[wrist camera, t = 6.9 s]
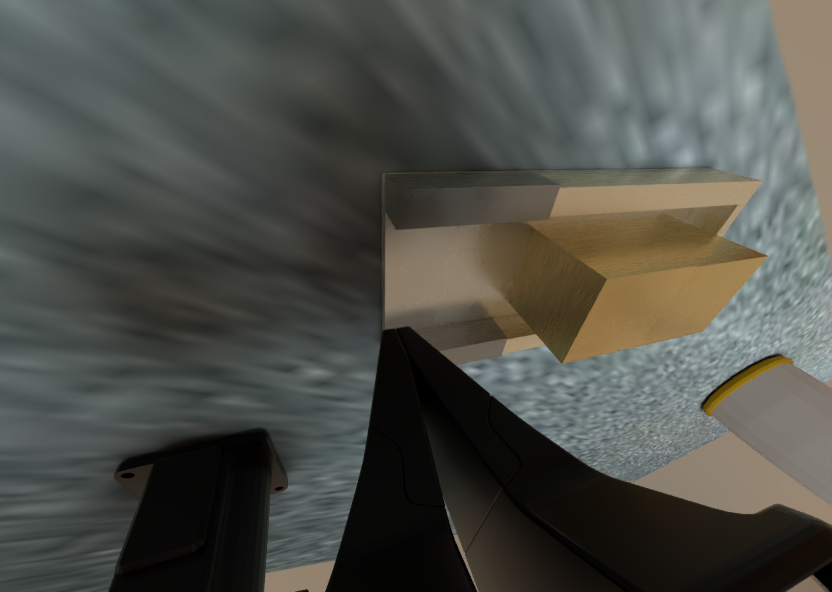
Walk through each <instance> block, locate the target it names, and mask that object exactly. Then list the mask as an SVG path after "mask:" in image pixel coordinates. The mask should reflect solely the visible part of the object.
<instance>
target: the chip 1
mask: <svg viewBox="0 0 832 592" xmlns="http://www.w3.org/2000/svg"><path fill="white" fill-rule="evenodd" d="M695 267H696V265H694V264H692V263H690V262H688V261H686V260H684V259H682V258H680V257H678V256H676V255H674V254H672V253H670V252H668V251H666V250H665V249H663V248H661V247H659V246H657V245H655V244H653V243H651V242H649V241H647V240H645V239H643V238H641V237H639V236H637V235H635V234H633V233H631V232H629V231H627V230H625V229H623V228H621V227H619V226H617V225H615V224H613V223H611V222H609V221H594V222H582V223H569V224H557V225H545V226H532V228H531V231H530V234H529V237H528V241H527V244H526V247H525V250H524V254H523V257H522V260H521V263H520V266H519V270H518V273H517V276H516V279H515V282H514V286H513V289H512V292H511V295H510V299H509V302H508V303H509V304H510V305H511V306H512V307H513V309H514V310H515V311H516V312H517V313H518V314H519V315H520V317H521V318H522V319H523V320H524V321H525V322H526V323H527V325H528V326H529V327H530V328H531V329H532V330H533V331H534V333H535V334H536V335H537V336H538V337H539V338H540V339H541V341H542V342H543V343H544V344H545V345H546V346H547V347H548V349H549V350H550V351H551V352H552V353H553V354H554V355H555V357H556V358H557V359H558V360H559V361H560V362H561V363H562V364H564V363H568V362H572V361H577V360H581V359H585V358H589V357H594V356H598V355H602V354H606V353H611V352H615V351H619V350H623V349H628V348H632V347H636V346H639V345H640V343H641V342H642V341H643V339H644V338H645V336H646V335H647V334H648V332H649V331H650V329H651V328H652V327H653V325H654V324H655V323H656V321H657V320H658V318H659V317H660V316H661V314H662V313H663V312H664V310H665V309H666V307H667V306H668V305H669V303H670V302H671V301H672V299H673V298H674V296H675V295H676V294H677V292H678V291H679V289H680V288H681V287H682V285H683V284H684V283H685V281H686V280H687V278H688V277H689V276H690V274H691V273H692V272H693V270H694V269H695Z"/></svg>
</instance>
